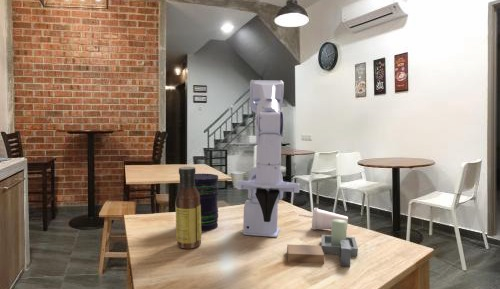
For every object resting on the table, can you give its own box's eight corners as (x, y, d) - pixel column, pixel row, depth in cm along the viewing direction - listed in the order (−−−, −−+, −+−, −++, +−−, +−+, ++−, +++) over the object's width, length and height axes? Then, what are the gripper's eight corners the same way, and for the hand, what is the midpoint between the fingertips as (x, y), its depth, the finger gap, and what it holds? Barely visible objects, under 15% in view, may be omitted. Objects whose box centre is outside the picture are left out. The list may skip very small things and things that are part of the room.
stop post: (340, 266, 80) (341, 248, 80) (339, 255, 86) (340, 239, 86) (350, 266, 80) (350, 249, 80) (348, 256, 86) (348, 240, 86)
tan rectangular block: (288, 263, 82) (288, 253, 82) (286, 254, 88) (287, 244, 88) (323, 265, 82) (324, 254, 82) (320, 255, 88) (320, 245, 88)
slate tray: (321, 253, 88) (321, 245, 88) (321, 241, 96) (321, 234, 96) (357, 256, 86) (357, 248, 86) (354, 244, 95) (354, 237, 94)
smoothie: (349, 207, 104) (300, 200, 108) (347, 223, 99) (296, 215, 103) (347, 223, 108) (300, 216, 112) (345, 239, 103) (296, 231, 107)
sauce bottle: (191, 239, 96) (192, 164, 94) (206, 245, 91) (207, 167, 90) (170, 245, 91) (170, 167, 90) (184, 252, 87) (184, 170, 85)
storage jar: (204, 233, 101) (204, 180, 100) (177, 227, 106) (177, 176, 104) (224, 224, 109) (225, 175, 108) (198, 219, 114) (198, 172, 113)
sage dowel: (330, 243, 93) (331, 219, 93) (344, 244, 93) (345, 219, 92) (331, 248, 90) (332, 223, 89) (346, 249, 89) (347, 223, 89)
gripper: (234, 164, 82) (233, 223, 83) (298, 167, 80) (297, 228, 81) (241, 160, 89) (240, 215, 90) (300, 163, 86) (299, 219, 88)
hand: (267, 220), depth 86 cm, fingers closed
